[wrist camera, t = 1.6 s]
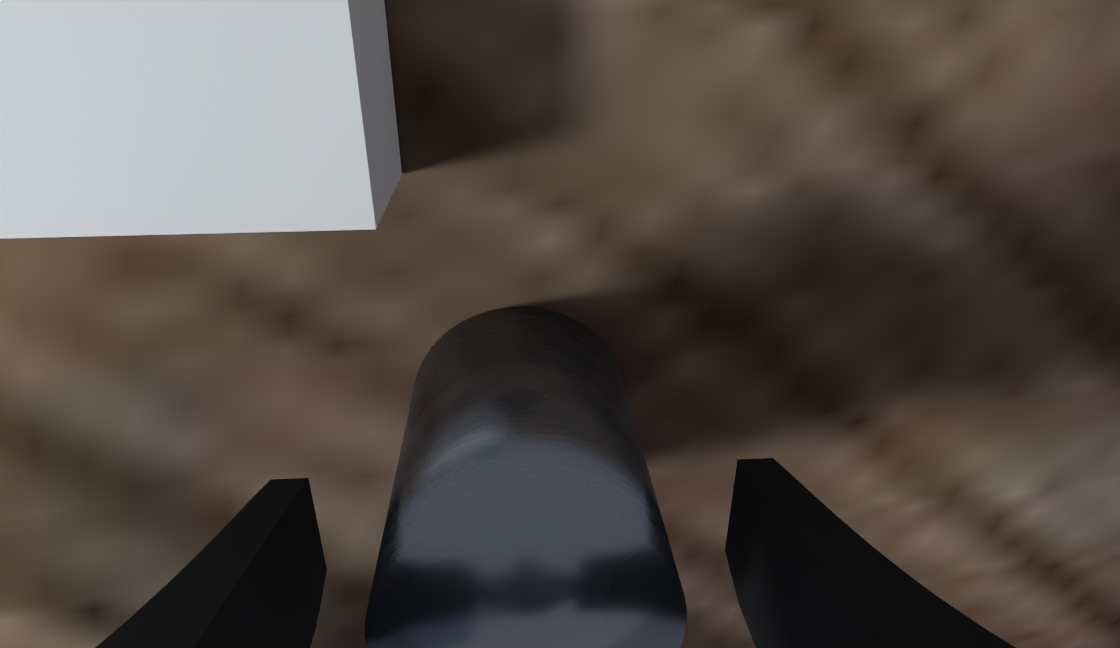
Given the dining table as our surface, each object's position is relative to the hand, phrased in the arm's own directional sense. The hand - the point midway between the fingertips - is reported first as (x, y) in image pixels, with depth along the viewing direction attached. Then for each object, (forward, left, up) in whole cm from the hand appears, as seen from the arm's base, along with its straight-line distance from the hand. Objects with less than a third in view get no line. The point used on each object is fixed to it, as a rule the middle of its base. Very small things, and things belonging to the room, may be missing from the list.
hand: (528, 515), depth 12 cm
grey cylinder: (0, 0, -4) cm, 4 cm away
